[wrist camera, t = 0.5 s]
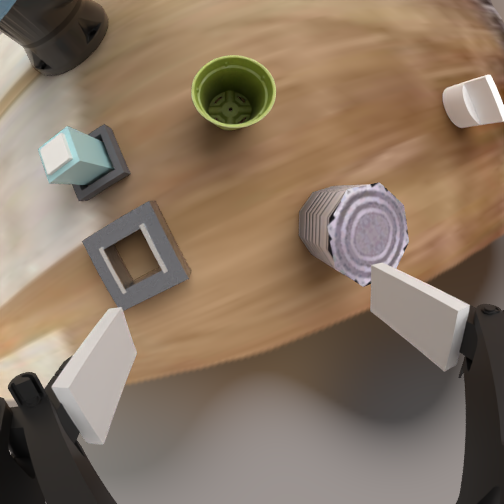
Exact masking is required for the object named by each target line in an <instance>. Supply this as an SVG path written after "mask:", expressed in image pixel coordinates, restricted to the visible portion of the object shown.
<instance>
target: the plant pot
mask: <svg viewBox="0 0 504 504" xmlns="http://www.w3.org/2000/svg"><path fill="white" fill-rule="evenodd" d="M191 97H192V101H193V104H194V106H195V108H196V109H197V111H198V112H199V113H200V114H201V115H202V116H203V117H204V118H205V119H207V120H208V121H210V122H211V123H213V124H214V125H216V126H217V127H219V128H221V129H224V130H236V129H239V128H243V127H247V126H250V125H253V124H255V123H257V122H259V121H260V120H261V119H263V118H264V117H265V116H266V115H267V114H268V113H269V111H270V110H271V108H272V106H273V104H274V102H275V98H276V87H275V82H274V79H273V77H272V76H271V74H270V73H269V71H268V70H267V69H266V68H265V67H264V66H263V65H261V64H260V63H259V62H257V61H255V60H253V59H251V58H247V57H244V56H237V55H229V56H223V57H220V58H216V59H214V60H212V61H210V62H208V63H207V64H206V65H204V66H203V67H202V68H201V69H200V70H199V71H198V73H197V74H196V76H195V78H194V80H193V83H192V88H191ZM219 97H222V99H220V100H219V101H218V102H217V103H216V104H215V101H216V100H217V99H218V98H219ZM238 97H241V98H243V99H244V100H245V103H243V101H242V100H240V99H239V98H238ZM229 108H232V111H229ZM244 117H246V119H245V121H244V122H243V123H241V124H239V122H240V121H241V120H242V119H244ZM215 118H217V119H218V120H219V121H220V122H218V121H216V120H215ZM221 122H222V123H221Z"/></svg>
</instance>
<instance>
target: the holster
mask: <svg viewBox="0 0 504 504" xmlns="http://www.w3.org/2000/svg"><path fill="white" fill-rule="evenodd" d="M88 135H89V136H91V137H93V138H95V139H98V140H100V141H103V142H104V144H105V147H106V149H107V152H108V154H109V157H110V159H111V161H112V164H113V166H114V169H115V170H113V171H111V172H110V173H108V174H107V175H105V176H103V177H102V178H100V179H99V180H97V181H96V182H94V183H93V184H91V185H90V186H88V185H75V184H72V185H73V188H74V190H75V193H76V195H77V198H78V200H79V201H86V200H89V199H91V198H92V197H94V196H95V195H97V194H98V193H100V192H101V191H103V190H105V189H106V188H108V187H109V186H111V185H113V184H114V183H116V182H118V181H119V180H121V179H123V178H124V177H126V176H128V175H129V174H130V171H129V169H128V167H127V165H126V162H125V160H124V158H123V155H122V153H121V151H120V148H119V146H118V143H117V141H116V139H115V136H114V134H113V131H112V129H111V128H110V127H108V126H106V125H105V124H104V125H102V126H100V127H99V128H97V129H96V130H94V131H93V132H91V133H90V134H88Z"/></svg>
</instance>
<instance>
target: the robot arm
mask: <svg viewBox="0 0 504 504" xmlns="http://www.w3.org/2000/svg"><path fill="white" fill-rule="evenodd" d="M107 27H108V17H107V14H106V13H105V11H104V9H103V8H102V7H101V6H100V5H99V4H98V3H96V2H94V1H92V0H0V31H1V32H3V33H4V34H5V35H7V36H8V37H10V38H11V39H13V40H14V41H15V42H17V43H18V44H20V45H21V46H23V47H24V49H25V51H26V53H27V56H28V58H29V60H30V62H31V64H32V66H33V67H34V68H35V69H36V70H37V71H39V72H40V73H42V74H44V75H49V76H52V75H58V74H62V73H64V72H67V71H69V70H71V69H72V68H74V67H76V66H77V65H79V64H80V63H81V62H83V61H84V60H85V59H86V58H87V57H88V56H89V55H90V54H91V53H92V52H93V51H94V50H95V49H96V48H97V47H98V45H99V44H100V42H101V41H102V39H103V37H104V36H105V33H106V31H107ZM370 311H371V312H372V313H374V314H375V315H376V316H377V317H379V318H380V319H381V320H382V321H384V322H385V323H386V324H387V325H389V326H390V327H391V328H392V329H394V330H395V331H396V332H397V333H399V334H400V335H401V336H402V337H404V338H405V339H406V340H407V341H408V342H410V343H411V344H412V345H413V346H415V347H416V348H417V349H418V350H419V351H421V352H422V353H423V354H424V355H425V356H427V357H428V358H429V359H430V360H431V361H433V362H434V363H435V364H436V365H438V366H439V367H440V368H441V369H442V370H443V371H446V370H448V369H449V368H451V367H453V366H455V365H456V364H457V361H458V357H459V353H462V354H463V355H465V357H464V361H463V364H462V368H461V371H460V374H459V378H461V376H462V374H463V373H464V381H465V399H466V437H465V455H464V467H463V475H462V482H461V489H460V494H459V498H458V501H457V503H456V504H504V310H503V311H502V310H501V309H500V308H499V307H496V306H494V305H490V304H482V305H479V306H478V307H477V308H475V307H473V306H471V305H469V304H467V303H465V302H463V301H461V300H459V299H457V298H455V297H453V296H451V295H450V294H448V293H445V292H443V291H440V290H439V289H437V288H435V287H433V286H431V285H428V284H427V283H425V282H422V281H420V280H418V279H416V278H414V277H412V276H410V275H408V274H406V273H404V272H402V271H400V270H397V269H395V268H393V267H391V266H389V265H387V264H385V263H378V264H373V265H371V309H370ZM136 355H137V352H136V349H135V346H134V343H133V340H132V337H131V334H130V331H129V328H128V325H127V322H126V319H125V316H124V312H123V309H122V307H118V308H110V309H108V310H107V312H106V313H105V314H104V315H103V317H102V318H101V319H100V321H99V322H98V323H97V324H96V326H95V327H94V328H93V330H92V331H91V332H90V334H89V335H88V336H87V337H86V339H85V340H84V341H83V343H82V344H81V346H80V347H79V348H78V350H77V351H76V352H75V354H74V355H73V356H71V357H70V358H68V359H67V360H66V361H64V362H63V364H62V365H61V366H60V368H59V370H57V372H56V373H55V376H53V377H52V379H51V380H50V382H49V383H48V385H47V386H46V387H45V389H44V388H43V386H42V384H41V383H40V381H39V379H38V377H37V375H36V374H35V373H32V372H26V373H23V374H20V375H18V376H16V377H15V378H14V379H12V380H11V382H10V383H9V385H8V389H9V391H10V393H11V394H12V396H13V398H14V399H15V401H16V403H17V404H18V406H19V407H11V408H10V407H9V406H8V404H7V403H6V401H5V400H4V398H1V397H0V504H46V503H47V504H117V503H116V502H115V500H114V499H113V497H112V496H111V495H110V493H109V492H108V490H107V489H106V487H105V486H104V484H103V483H102V481H101V479H100V478H99V476H98V475H97V473H96V471H95V470H94V468H93V466H92V465H91V463H90V461H89V460H88V458H87V456H86V454H85V452H84V450H83V449H82V447H81V445H80V444H79V442H78V441H77V437H78V435H79V433H80V434H81V435H82V437H83V438H84V440H85V441H86V442H87V443H91V444H102V445H104V442H105V439H106V436H107V433H108V430H109V427H110V424H111V421H112V418H113V416H114V413H115V410H116V407H117V404H118V402H119V399H120V396H121V393H122V390H123V388H124V385H125V383H126V380H127V377H128V375H129V372H130V370H131V367H132V365H133V362H134V360H135V357H136ZM9 450H10V452H11V455H10V452H9ZM45 501H46V503H45Z"/></svg>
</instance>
